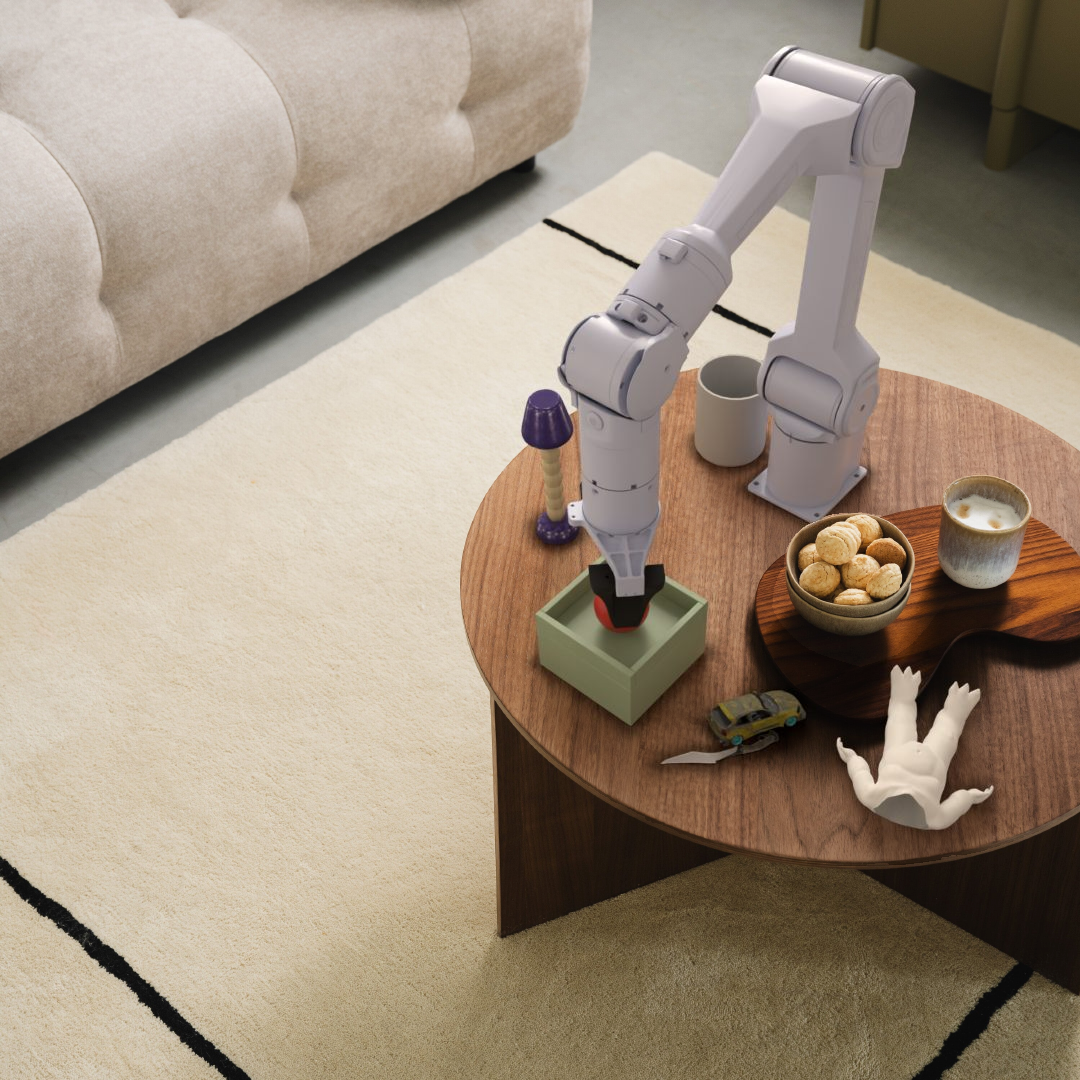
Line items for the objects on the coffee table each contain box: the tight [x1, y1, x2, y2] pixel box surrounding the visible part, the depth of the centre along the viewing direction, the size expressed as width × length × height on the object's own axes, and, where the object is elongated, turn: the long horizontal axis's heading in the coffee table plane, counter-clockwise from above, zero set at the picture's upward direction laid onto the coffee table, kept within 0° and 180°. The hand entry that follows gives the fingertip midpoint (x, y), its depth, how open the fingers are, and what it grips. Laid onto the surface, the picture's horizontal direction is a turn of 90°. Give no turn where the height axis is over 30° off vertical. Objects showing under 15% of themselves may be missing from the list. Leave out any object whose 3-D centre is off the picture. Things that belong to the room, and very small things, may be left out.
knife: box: [660, 729, 779, 765], centre depth 93 cm, size 10×2×1 cm, turn 107°
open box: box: [534, 554, 709, 727], centre depth 98 cm, size 10×10×7 cm
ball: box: [594, 595, 650, 633], centre depth 95 cm, size 5×5×5 cm
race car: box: [706, 690, 807, 747], centre depth 94 cm, size 4×8×2 cm, turn 110°
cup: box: [694, 353, 769, 468], centre depth 116 cm, size 7×10×9 cm
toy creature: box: [836, 664, 995, 831], centre depth 89 cm, size 12×6×12 cm
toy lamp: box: [520, 388, 581, 546], centre depth 105 cm, size 5×5×17 cm
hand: (621, 587), depth 93 cm, fingers open, 7 cm apart
